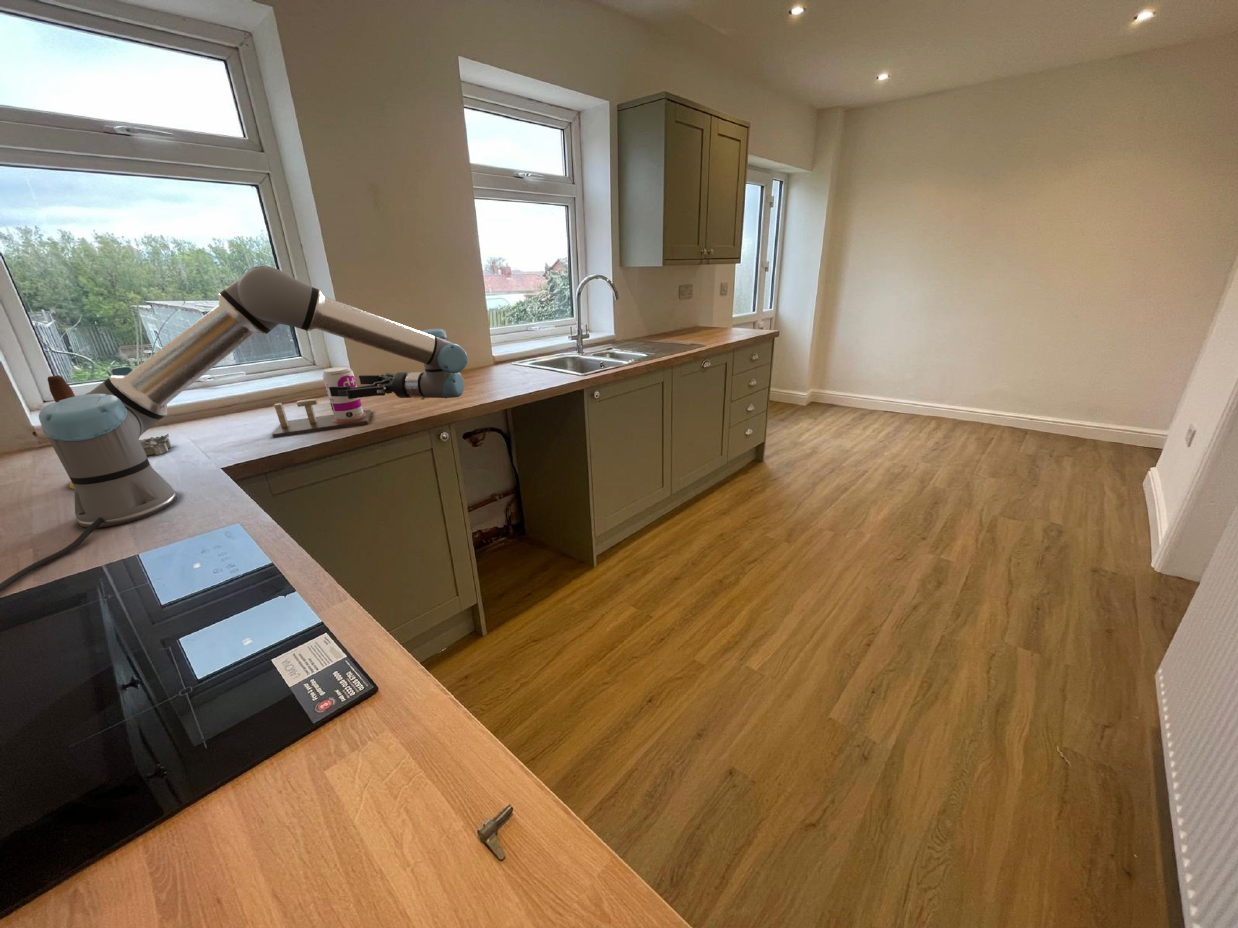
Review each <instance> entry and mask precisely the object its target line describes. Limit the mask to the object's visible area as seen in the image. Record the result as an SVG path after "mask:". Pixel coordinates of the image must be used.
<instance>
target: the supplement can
mask: <svg viewBox="0 0 1238 928" xmlns="http://www.w3.org/2000/svg"><path fill="white" fill-rule="evenodd" d="M322 378H323V382H324V386H325V390H326V393H327V396H328V401H329V404H330V407H331V411H332V415H334V418H336V419H337V420H352V419H356V418H359V417H361V416H362V414H363V413H364V412H363V411H364V409H363V405H362V401H361V398H353V399H348V396H331V393H330V389H329V387H347V386H348V385H350V387H351V388H352V387H358V385H357V381H356V378H355V374H354V371H353V370H352V368H351V367H350V366H347V365H342V366H334V367H328V368H325V369H324V370H323V373H322Z"/></svg>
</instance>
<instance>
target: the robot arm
mask: <svg viewBox="0 0 1238 928" xmlns="http://www.w3.org/2000/svg"><path fill="white" fill-rule="evenodd" d="M279 325H284V326H288V327H293V328H296V329H299V330H302V331H307V332H311V331H313V330H318V331H321V332H325V333H327V334H331V335H334V336H338V337H340V338H343V339H346V340H350V341H353V342H356V343H359V344H362V345H366V346H368V347H371V348H375V349H377V350H380V351H383V352H387V353H390V354H393V355H395V356H396V355H397V356H399V357H402V358H405V359H408V360H412V361H415V362H418V363H421V364H423V368H424V371H410V372H409V371H400V372H399V371H398V372H396V373H395V374H393V373H390V372H386V373H385V374H366V375H365V374H361V375H358V380H359V383H360V385H359V386H357V387H352V388H351V387H350V385H348V386H347V387H329V389H330V393H331V396H348V399H353V398H360V399H361V398H369V397H376V396H377V397H382V396H386V394H388V395H389V394H394V395H395V396H396V397H397V398H398V399H399V398H400V399H420V400H425V399H451V398H452V399H453V398H459V397H461V396H462V395H463V393H464V390H465V379H464V378H463V375H462V373H461V372H463V371H464V369H465V368H466V367H467V365H468V361H469V357H468V353H467V351H466V350H465V349H464V347H462V346H461V345H460V344H457V343H455V342H452V341H449V338H448V336H447V332H446V330H444V329H443V328H429V329H424V330H418V329H415V328H414V327H413V328H412V327H410V326H407V325H405V324H402V323H399V322H396V321H394V320H390V319H388V318H385V317H382V316H380V315H377V314H374V313H372V312H369V311H366V310H364V309H361V308H357V307H355V306H353V305H350V304H347V303H344V302H341V301H338V300H335V299H333V298H331V297H327V296H325V295H324V294H323V292H322V291H321V290H320V289H319V288H316V287H313V286H311V285H308V284H306V283H304V282H302V281H300V280H298V279H296V278H294V277H292V276H290V275H289V274H288V273H286V272H284V271H282V270H281V269H278V268H276V267H273V266H265V265H259V266H255V267H251V268H249V269H248V270H246V271H244V273H243V274H242V275H241V276H240V277H238V278H237V279H236V280H235V281H233V282H232V283H231V284H229V286H227V287H226V288H224V289H223V290H221V292H219V293H218V304H217V305H216V306H214V308H212V309H211V310H210V311H208V312H207V313H206V314H204V315H202V317H200V318H199V319H198V320H196V321H195V322H193V324H191V325H190V326H189V327H187V328H186V329H185V330H183V331H182V332H181V333H180V334H178V335H176V337H174V338H173V339H172V340H171V341H169V342H168V343H167V344H165V345H164V346H163V347H161V348H160V349H159V350H157V351H156V352H155V353H153V354H152V355H151V356H149V357H148V358H147V359H146V360H144V361H143V362H142V363H141V364H140V365H138V366H137V367H135V368H134V369H133V370H132V371H130V372H128V374H125V375H117V374H115V375H114V374H113V375H111V376H109V377H108V378H106V379H105V380H104V381H102V382H101V383H100V384H99V385H97V386H96V387H94V388H93V389H92V390H90V391H89V392H87V393H84V394H82V395H75V397H71V398H66V399H63V400H60V401H59V402H55V401H54V402H52V403H49V404H47V405H46V406H44V407H42V409H41V410H40V411H39V414H38V420H39V423H40V428H41V430H42V432H43V433H44V434H45V435H46V437H47V438H48V440H49V443H50V444H51V446H52V448H53V450H54V452H55V454H56V456H57V457H58V459H59V461H60V463H61V464H62V466H63V468H64V471H65V472H66V474H67V476H68V478H69V480H70V481H72V483H73V486H74V489H73V491H74V514H75V518H76V520H77V522H78V524H79V526H80V527H82V528H86V529H85V530H84V531H82V532H81V534H79V536H78V537H77V538H76V539H75V540H74V541H73V542H71V543H70V544H69V545H67V546H66V547H64V548H62V549H60V550H58V551H57V552H55V553H52V554H51V555H49V556H46V557H44V558H42V559H40V560H37V561H36V562H33V563H32V564H30V565H28V566H26V567H24V568H23V569H21V570H19V571H16V573H14V574H12V575H11V576H9V577H8V578H6V579H5V580H3V581H2V582H0V592H2V591H3V590H5V589H6V588H7V587H9V586H10V585H12V584H14V583H15V582H16V581H18V580H19V579H21V578H22V577H25V576H26V575H28V574H29V573H31V572H33V571H34V570H36V569H38V568H40V567H42V566H45V565H46V564H49V563H51V562H53V561H55V560H57V559H59V558H61V557H63V556H64V555H67V554H69V552H71V551H73V550H75V549H76V548H77V547H79V546H80V545H81V544H82V543H84V541H85V540H86V539H87V538H88V537H89V536H90V535H91V534H92V533H93V532H94V531H96V529H102V528H109V527H114V526H115V527H116V526H120V525H123V524H128V523H131V522H134V521H138V520H142V519H144V518H147V517H150V516H153V515H154V514H157V513H159V512H161V511H163V510H165V509H167V508H168V507H170V506H172V504H174V503H175V502H176V501H177V499H178V495H177V493H176V491H175V489H174V488H173V486H172V485H170V484H169V483H168V481H166V480H165V478H164V477H162V476H161V475H160V474H159V473H158V472H157V471H156V470H155V469H154V468H153V467H152V465H151V463H150V461H149V458H148V456H146V454H145V452H144V450H143V447H142V445H141V443H140V441H139V440H140V439H141V438H140V437H141V436H142V435H143V434H144V433H146V432H147V431H148V430H149V429H150V428H152V427H153V426H155V425H156V423H158V422H159V421H160V420H162V419H163V418H164V417H166V415H168V404H169V403H170V402H171V401H173V400H174V399H175V398H176V397H177V396H179V395H181V394H182V393H183V392H184V391H185V390H186V389H187V388H189V387H190V386H191V385H193V384H194V383H195V382H196V381H198V380H199V379H200V378H201V377H203V376H204V375H205V374H207V373H208V372H209V371H210V370H211V369H213V368H214V367H215V366H216V365H217V364H219V363H220V362H221V361H223V360H224V359H226V357H227V356H229V355H230V354H231V353H233V352H234V351H235V350H236V349H238V348H239V347H240V346H241V345H243V344H244V343H245V342H246V341H248V340H249V339H250V338H252V337H253V336H254V335H262V336H266V335H268V334H269V333H270V332H271V331H272V330H273V329H275V328H276V327H277V326H279Z"/></svg>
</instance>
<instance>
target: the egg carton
mask: <svg viewBox="0 0 1238 928" xmlns="http://www.w3.org/2000/svg"><path fill="white" fill-rule="evenodd" d="M169 436H170V435H169V433H166V434H165V435H160V436H156V437H152V436H151V437H149V438H144V439H139V441H140V443H141V445H142V447H143V450H144V452H145V454H146V456H147V457H148V456H150V455H156V456H158V455H162V454H164V453H167V452H169V451H170V450H169V449H170V448H172V447H173V445H172V443H171V441H170V437H169Z"/></svg>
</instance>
